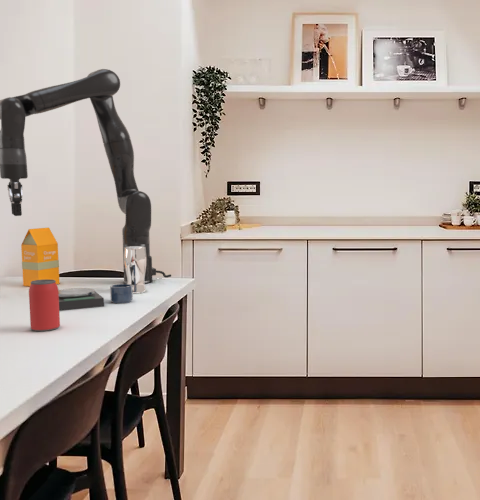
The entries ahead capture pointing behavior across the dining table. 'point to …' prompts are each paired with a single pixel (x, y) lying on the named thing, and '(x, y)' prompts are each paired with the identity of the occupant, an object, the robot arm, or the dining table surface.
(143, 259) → the beer glass
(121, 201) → the robot arm
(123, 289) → the cup
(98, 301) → the scale
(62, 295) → the platter
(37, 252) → the orange juice
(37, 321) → the beer can
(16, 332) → the dining table surface
